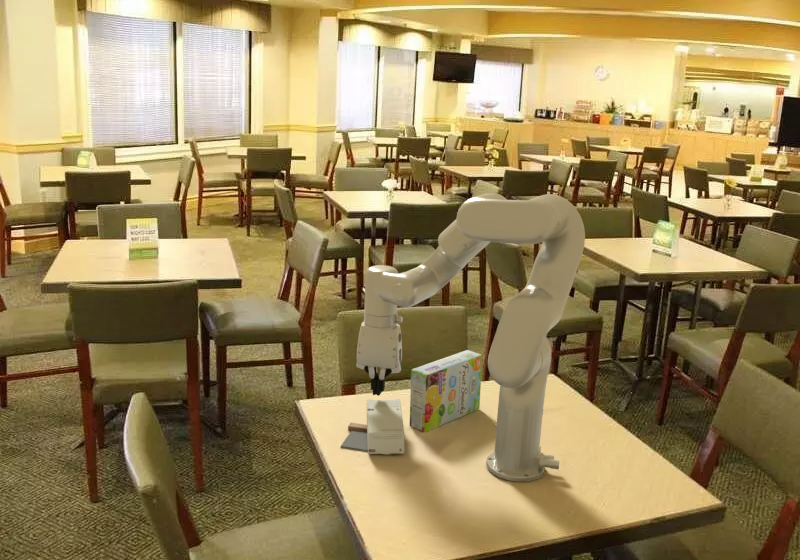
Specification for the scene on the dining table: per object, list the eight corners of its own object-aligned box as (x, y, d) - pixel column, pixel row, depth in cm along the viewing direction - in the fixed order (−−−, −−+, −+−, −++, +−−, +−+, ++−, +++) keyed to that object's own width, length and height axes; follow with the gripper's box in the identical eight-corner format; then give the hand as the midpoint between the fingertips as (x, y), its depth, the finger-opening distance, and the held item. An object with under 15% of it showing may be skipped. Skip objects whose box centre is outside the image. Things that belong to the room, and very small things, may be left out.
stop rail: (399, 434, 177) (399, 429, 177) (397, 438, 175) (397, 433, 175) (350, 427, 180) (350, 422, 179) (348, 430, 178) (348, 425, 177)
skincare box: (399, 398, 179) (406, 430, 165) (399, 420, 181) (406, 454, 167) (364, 399, 178) (368, 432, 164) (364, 421, 180) (368, 455, 166)
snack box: (463, 402, 196) (467, 348, 193) (480, 409, 193) (484, 354, 189) (407, 426, 182) (410, 367, 178) (424, 434, 178) (427, 374, 174)
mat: (401, 438, 175) (401, 437, 175) (392, 455, 167) (392, 453, 167) (351, 431, 177) (351, 429, 177) (340, 447, 169) (340, 445, 169)
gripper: (415, 318, 175) (411, 391, 179) (354, 311, 178) (352, 383, 183) (408, 327, 168) (404, 403, 172) (344, 320, 171) (342, 394, 175)
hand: (377, 392), depth 177 cm, fingers closed
